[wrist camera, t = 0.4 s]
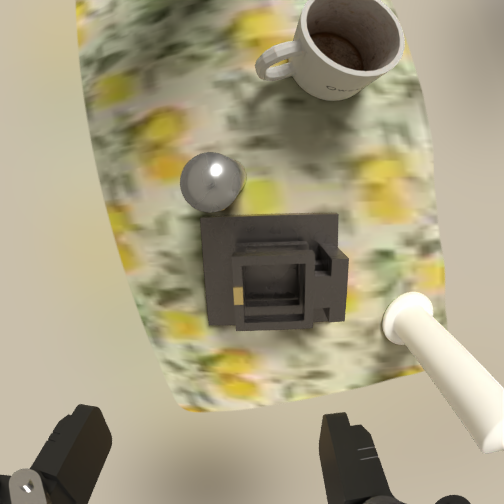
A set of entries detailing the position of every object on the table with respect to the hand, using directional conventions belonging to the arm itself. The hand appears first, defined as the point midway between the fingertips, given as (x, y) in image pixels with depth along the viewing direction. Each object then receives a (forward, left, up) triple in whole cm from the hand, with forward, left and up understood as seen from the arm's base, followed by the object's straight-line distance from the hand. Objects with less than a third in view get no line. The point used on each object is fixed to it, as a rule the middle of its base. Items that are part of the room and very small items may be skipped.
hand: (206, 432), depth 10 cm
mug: (-20, +8, -26) cm, 33 cm away
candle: (+9, +20, -25) cm, 34 cm away
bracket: (+2, +3, -25) cm, 26 cm away
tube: (-8, -1, -25) cm, 26 cm away
